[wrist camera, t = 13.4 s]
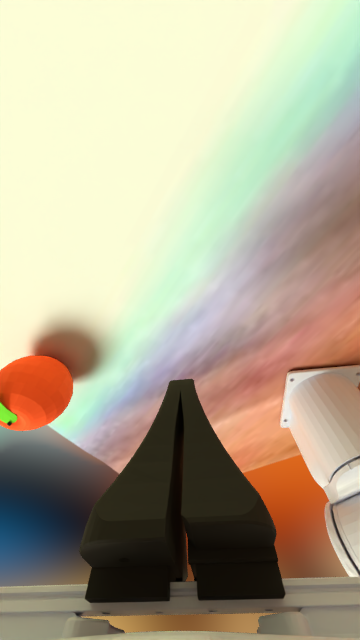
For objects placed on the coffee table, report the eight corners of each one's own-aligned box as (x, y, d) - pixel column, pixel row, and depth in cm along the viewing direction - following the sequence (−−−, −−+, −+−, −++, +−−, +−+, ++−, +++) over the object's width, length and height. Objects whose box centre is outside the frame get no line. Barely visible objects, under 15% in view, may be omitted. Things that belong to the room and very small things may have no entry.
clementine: (-2, 345, 23) (-71, 400, 17) (51, 324, 22) (-1, 375, 15) (47, 395, 27) (6, 455, 20) (95, 380, 25) (67, 439, 19)
